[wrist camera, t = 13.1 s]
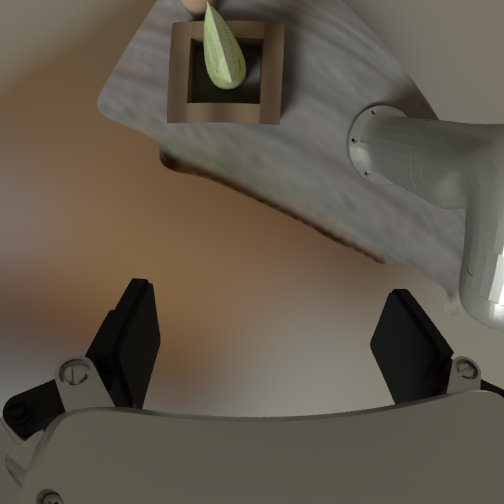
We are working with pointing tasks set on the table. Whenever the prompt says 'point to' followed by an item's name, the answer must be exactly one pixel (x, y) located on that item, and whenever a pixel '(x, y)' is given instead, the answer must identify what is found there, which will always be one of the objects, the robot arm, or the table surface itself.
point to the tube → (222, 52)
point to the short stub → (198, 7)
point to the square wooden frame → (264, 112)
